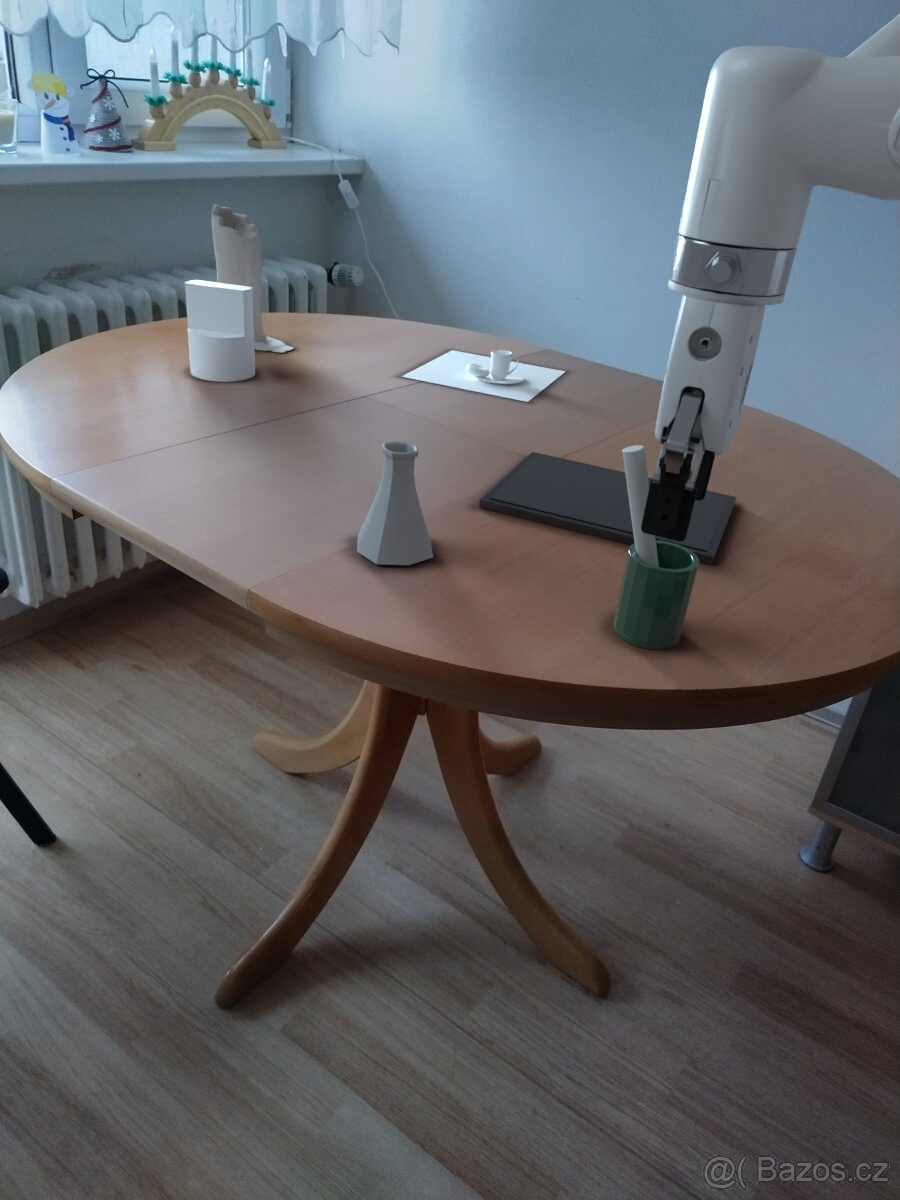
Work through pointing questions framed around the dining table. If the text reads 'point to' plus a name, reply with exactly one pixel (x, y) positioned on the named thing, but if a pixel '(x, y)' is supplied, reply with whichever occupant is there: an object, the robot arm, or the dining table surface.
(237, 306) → the base with upright slab
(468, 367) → the teacup and saucer
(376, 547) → the flask
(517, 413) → the dining table surface
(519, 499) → the tablet
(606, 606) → the dining table surface
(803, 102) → the robot arm
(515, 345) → the dining table surface
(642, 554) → the stylus
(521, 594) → the dining table surface
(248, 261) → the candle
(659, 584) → the pen holder
